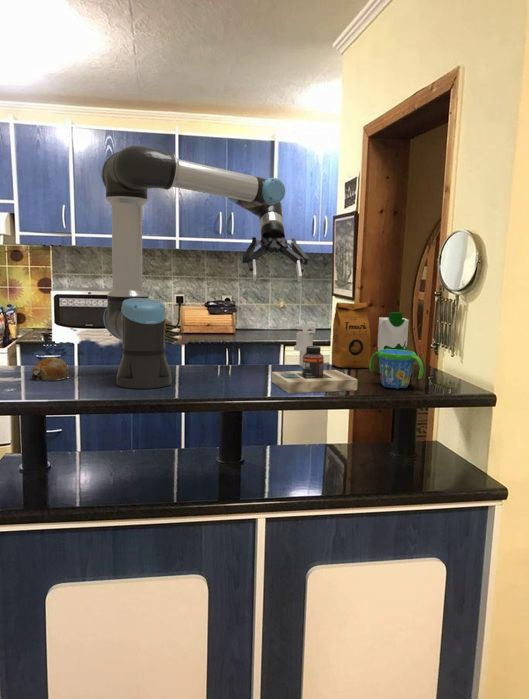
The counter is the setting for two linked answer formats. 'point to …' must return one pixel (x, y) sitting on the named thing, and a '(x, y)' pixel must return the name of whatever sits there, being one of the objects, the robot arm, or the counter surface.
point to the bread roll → (50, 369)
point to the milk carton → (392, 333)
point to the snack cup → (396, 367)
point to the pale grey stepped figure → (304, 338)
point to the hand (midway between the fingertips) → (277, 278)
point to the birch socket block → (314, 382)
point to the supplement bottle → (312, 363)
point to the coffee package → (351, 336)
